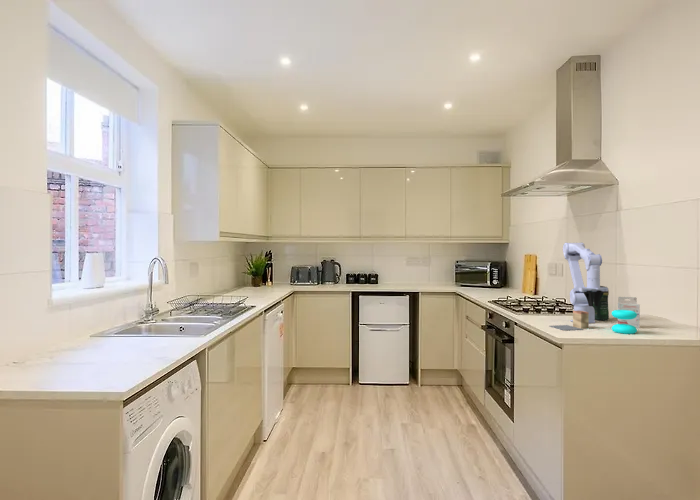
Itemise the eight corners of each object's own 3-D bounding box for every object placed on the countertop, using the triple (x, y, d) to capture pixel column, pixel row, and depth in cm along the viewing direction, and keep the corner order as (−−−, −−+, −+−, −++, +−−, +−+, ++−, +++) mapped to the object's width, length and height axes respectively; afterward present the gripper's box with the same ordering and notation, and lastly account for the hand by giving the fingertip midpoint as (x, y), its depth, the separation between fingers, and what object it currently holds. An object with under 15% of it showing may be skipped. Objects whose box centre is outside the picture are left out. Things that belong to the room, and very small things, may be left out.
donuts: (607, 310, 205) (618, 308, 210) (607, 331, 205) (618, 329, 210) (630, 313, 196) (641, 311, 202) (630, 335, 196) (641, 333, 202)
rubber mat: (567, 325, 222) (567, 325, 222) (583, 329, 210) (583, 329, 210) (549, 326, 220) (549, 325, 220) (564, 330, 208) (564, 329, 208)
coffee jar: (611, 320, 237) (611, 286, 237) (597, 320, 236) (597, 286, 236) (600, 317, 246) (599, 284, 246) (586, 318, 246) (586, 285, 246)
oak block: (580, 326, 219) (580, 310, 220) (588, 328, 214) (588, 312, 214) (573, 326, 219) (572, 310, 219) (581, 328, 213) (581, 312, 213)
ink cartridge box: (619, 327, 216) (619, 297, 216) (617, 325, 221) (617, 296, 221) (640, 328, 213) (639, 298, 213) (637, 326, 218) (636, 297, 218)
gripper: (585, 279, 212) (586, 307, 212) (612, 278, 214) (612, 306, 214) (576, 278, 219) (576, 305, 219) (601, 278, 221) (602, 305, 221)
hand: (593, 306), depth 217 cm, fingers closed
